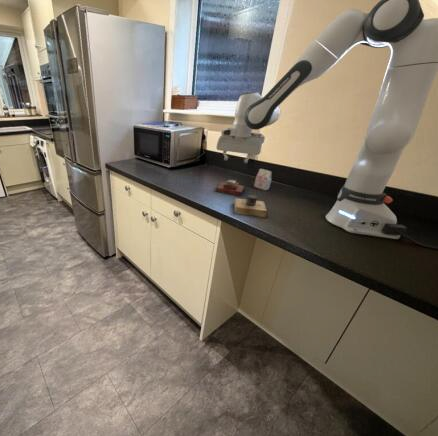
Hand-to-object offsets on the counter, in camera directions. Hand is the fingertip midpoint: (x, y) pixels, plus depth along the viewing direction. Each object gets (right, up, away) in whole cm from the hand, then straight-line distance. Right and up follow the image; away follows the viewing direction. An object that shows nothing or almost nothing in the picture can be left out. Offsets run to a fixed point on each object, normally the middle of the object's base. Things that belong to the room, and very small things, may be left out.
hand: (235, 161), depth 115 cm
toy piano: (0, -14, +8) cm, 16 cm away
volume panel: (+1, -25, -12) cm, 28 cm away
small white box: (+19, -12, +12) cm, 25 cm away
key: (0, -10, +6) cm, 12 cm away
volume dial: (+1, -22, -14) cm, 26 cm away
